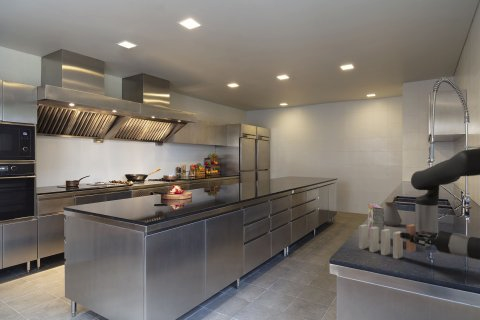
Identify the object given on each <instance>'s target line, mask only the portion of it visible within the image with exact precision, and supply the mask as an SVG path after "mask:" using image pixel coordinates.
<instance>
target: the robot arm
mask: <svg viewBox="0 0 480 320" xmlns="http://www.w3.org/2000/svg"><path fill="white" fill-rule="evenodd" d="M474 176H480V147H479V148H471V149H464V150H461V151H459V152H458V153H456V154H455V155H452V157H450V158H449V159H446V160H443V161H440V162H438V163H436V164H434V165H432V166H430V167H428V168H425V169H422V170H417V171H415V172H414V173H413V174H412V175H411V178H410V183H411V186H412V188H414V189H416V190H418V191H426V193H424V194H423V195H420V196H417V197H416V198H415V201H414V202H415V203H414V205H415V209H414V210H415V212H414V213H415V218H414V219H415V224H414V225H416V234H409V233H406V232H403V231H400V232H401V233H400V237H401V238H403V239H404V240H406V239H408V240H410V242H412V243H415V244H416V245H419V246H421V247H425V246H429V247H430V246H431V247H432V246H435V248H436V250H437V251H438V252H439V253H443V254H448V255H451V256H457V257H461V258H470V259H473V260H474V259H475V260H479V261H480V237H476V236H470V235H466V234H463V233H457V232H451V231H446V230H440V231H439V198H440V186H444V185H449V184H453V183H456V182H457V181H458V180H459V179H460V178H461V177H474ZM414 238H415V239H414Z"/></svg>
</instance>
